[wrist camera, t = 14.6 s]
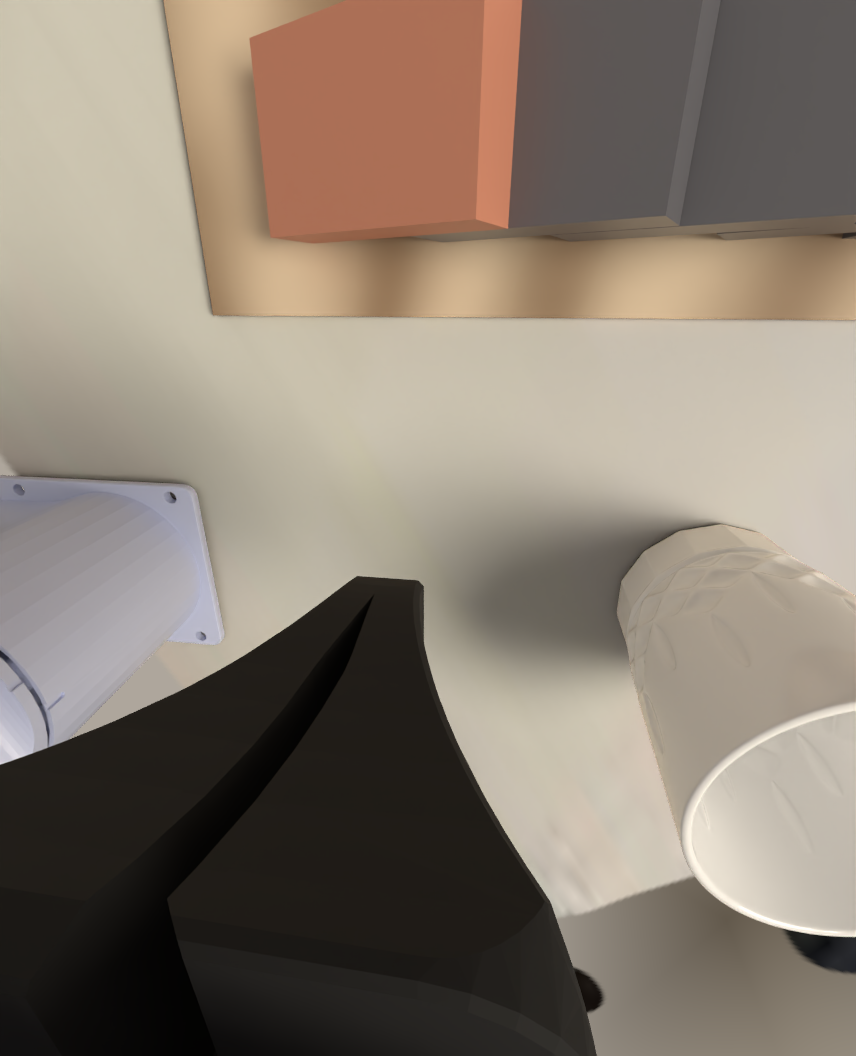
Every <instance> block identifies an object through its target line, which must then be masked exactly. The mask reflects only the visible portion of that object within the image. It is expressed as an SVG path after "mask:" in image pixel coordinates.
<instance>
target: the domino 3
mask: <svg viewBox="0 0 856 1056" xmlns="http://www.w3.org/2000/svg"><path fill="white" fill-rule="evenodd" d="M842 239H856V232H852V233H843V236H842Z"/></svg>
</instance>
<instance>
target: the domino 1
mask: <svg viewBox="0 0 856 1056" xmlns="http://www.w3.org/2000/svg"><path fill="white" fill-rule="evenodd" d="M720 2H721V0H522V11H521V27H520V43H519V60H518V76H517V92H516V108H515V124H514V140H513V156H512V172H511V188H510V204H509V220H508V229H499V230H485V231H472V232H459V233H446V234H433V235H420V236H411V237H417V238H422V239H427V240H433V241H438V242H455V241H470V240H484V239H498V238H513V237H527V236H541V235H556V234H570V233H585V232H599V231H613V230H628V229H642V228H656V227H671V226H680V220H681V215H682V209H683V204H684V198H685V193H686V187H687V182H688V177H689V171H690V166H691V160H692V155H693V149H694V144H695V138H696V133H697V127H698V122H699V116H700V111H701V106H702V100H703V95H704V89H705V84H706V78H707V73H708V67H709V62H710V56H711V51H712V46H713V40H714V35H715V29H716V24H717V18H718V13H719V7H720Z"/></svg>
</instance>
